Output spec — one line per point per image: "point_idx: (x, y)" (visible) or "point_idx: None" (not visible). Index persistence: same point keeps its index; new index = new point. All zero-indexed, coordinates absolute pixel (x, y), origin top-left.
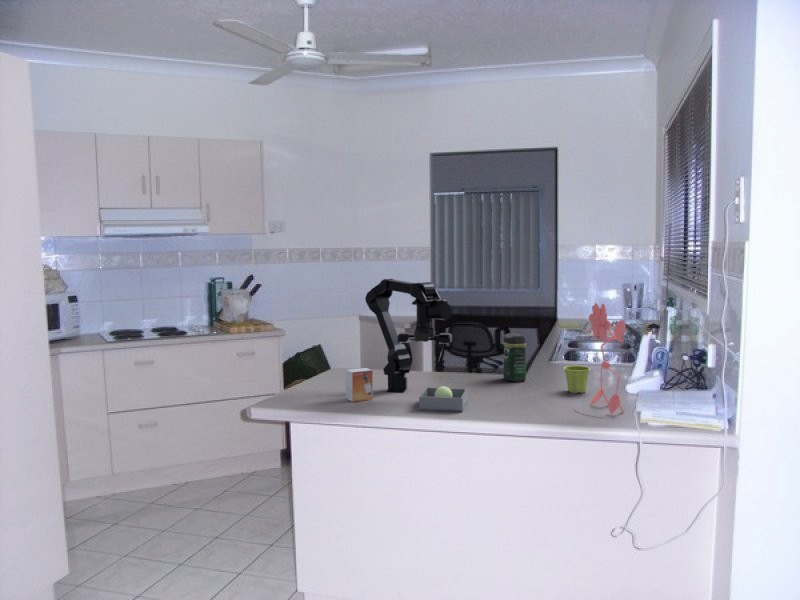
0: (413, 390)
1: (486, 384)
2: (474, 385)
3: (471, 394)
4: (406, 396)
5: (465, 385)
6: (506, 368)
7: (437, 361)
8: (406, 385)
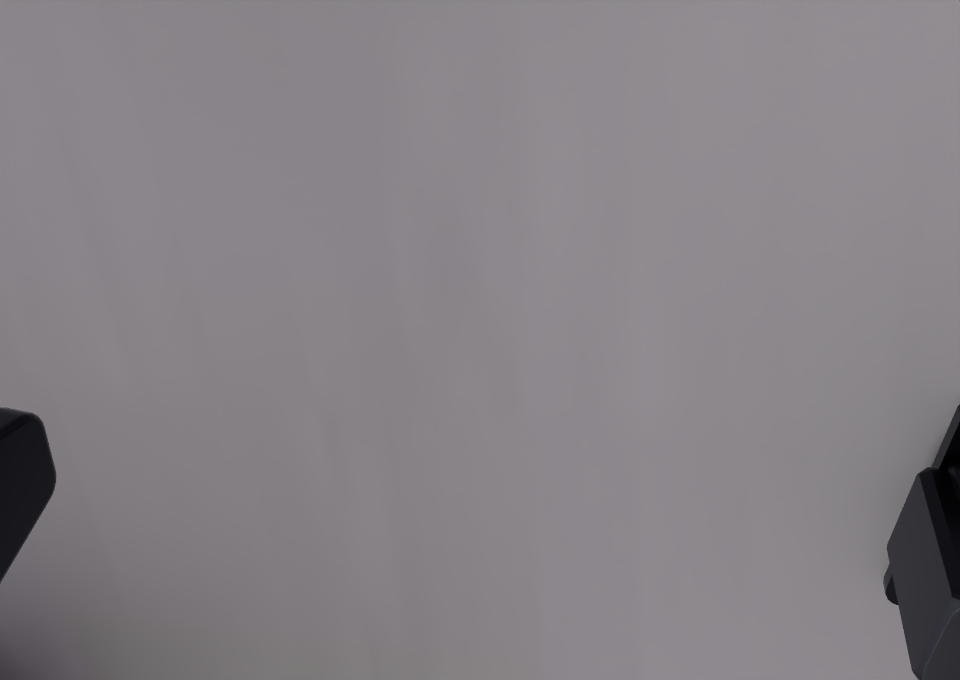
0: (789, 499)
1: (20, 648)
2: (111, 630)
3: (8, 260)
4: (948, 128)
5: (194, 641)
6: None
7: (8, 421)
8: (919, 530)
